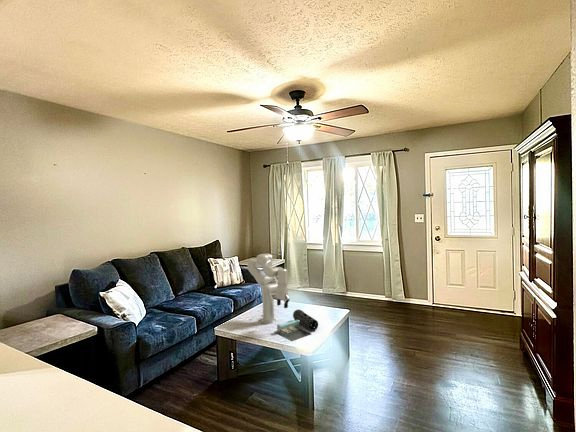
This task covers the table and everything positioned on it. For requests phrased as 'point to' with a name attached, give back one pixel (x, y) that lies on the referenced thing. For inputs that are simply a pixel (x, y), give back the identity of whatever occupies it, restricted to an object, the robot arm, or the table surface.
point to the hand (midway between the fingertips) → (282, 306)
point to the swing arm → (287, 325)
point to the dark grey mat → (293, 333)
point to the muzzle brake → (305, 320)
